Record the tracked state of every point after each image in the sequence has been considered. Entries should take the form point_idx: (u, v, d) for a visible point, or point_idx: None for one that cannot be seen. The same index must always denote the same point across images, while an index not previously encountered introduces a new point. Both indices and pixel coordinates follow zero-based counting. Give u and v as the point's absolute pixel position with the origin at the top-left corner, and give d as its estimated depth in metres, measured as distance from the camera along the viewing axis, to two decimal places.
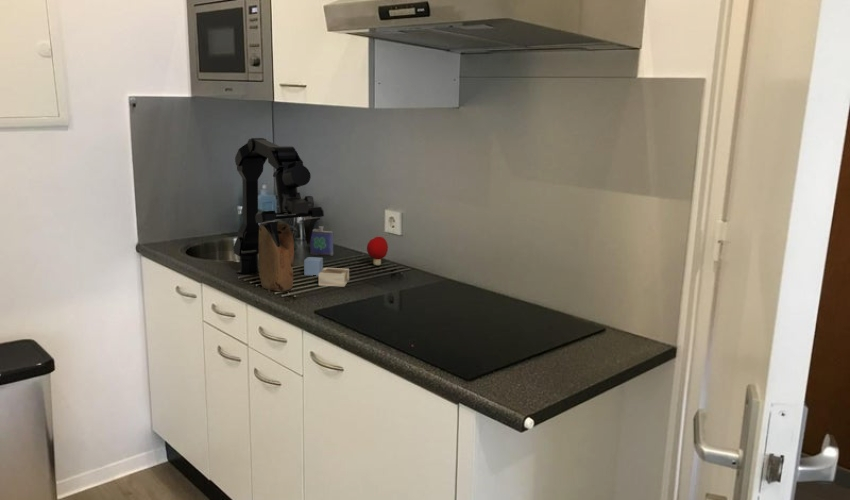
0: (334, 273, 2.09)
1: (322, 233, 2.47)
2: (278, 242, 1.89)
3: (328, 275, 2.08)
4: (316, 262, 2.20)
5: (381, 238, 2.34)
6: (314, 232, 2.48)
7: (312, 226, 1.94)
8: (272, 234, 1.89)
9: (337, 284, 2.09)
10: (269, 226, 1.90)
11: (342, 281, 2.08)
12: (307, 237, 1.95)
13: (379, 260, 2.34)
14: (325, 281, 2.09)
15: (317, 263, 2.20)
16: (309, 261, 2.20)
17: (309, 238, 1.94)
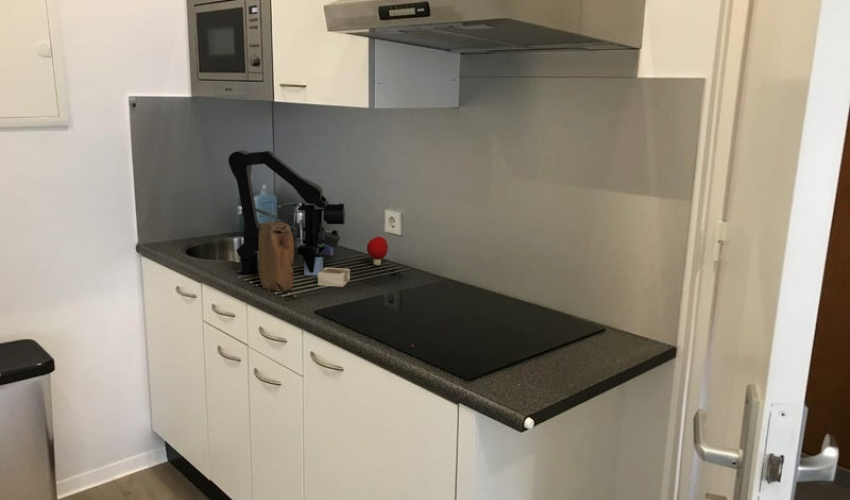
0: (333, 273, 2.09)
1: None
2: (313, 269, 2.20)
3: (327, 275, 2.08)
4: (316, 262, 2.20)
5: (381, 238, 2.34)
6: None
7: (320, 253, 2.26)
8: (309, 262, 2.18)
9: (336, 284, 2.08)
10: (307, 255, 2.18)
11: (341, 281, 2.08)
12: None
13: (379, 260, 2.34)
14: (324, 281, 2.09)
15: (317, 263, 2.20)
16: None
17: None
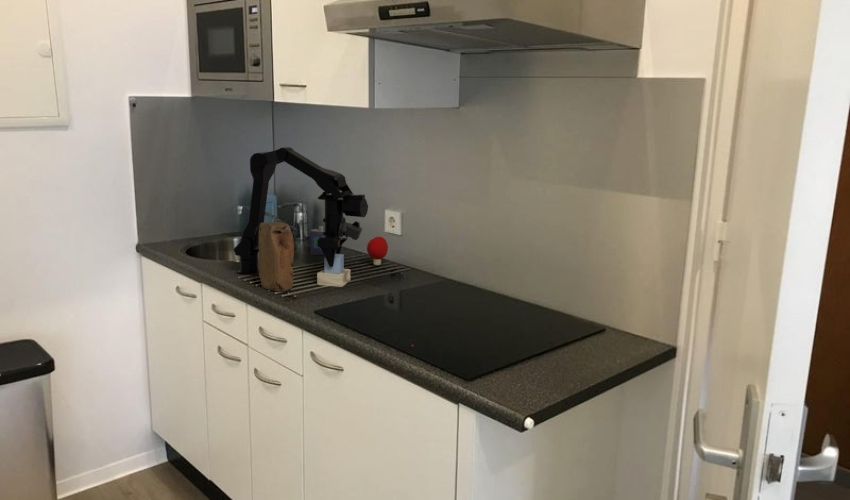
0: (333, 273, 2.09)
1: (322, 233, 2.47)
2: (333, 263, 2.07)
3: (326, 275, 2.08)
4: (337, 259, 2.08)
5: (381, 238, 2.34)
6: (314, 232, 2.48)
7: (341, 246, 2.15)
8: (329, 256, 2.06)
9: (335, 284, 2.08)
10: (326, 248, 2.05)
11: (340, 281, 2.08)
12: None
13: (379, 260, 2.34)
14: (324, 281, 2.09)
15: (338, 260, 2.09)
16: None
17: None
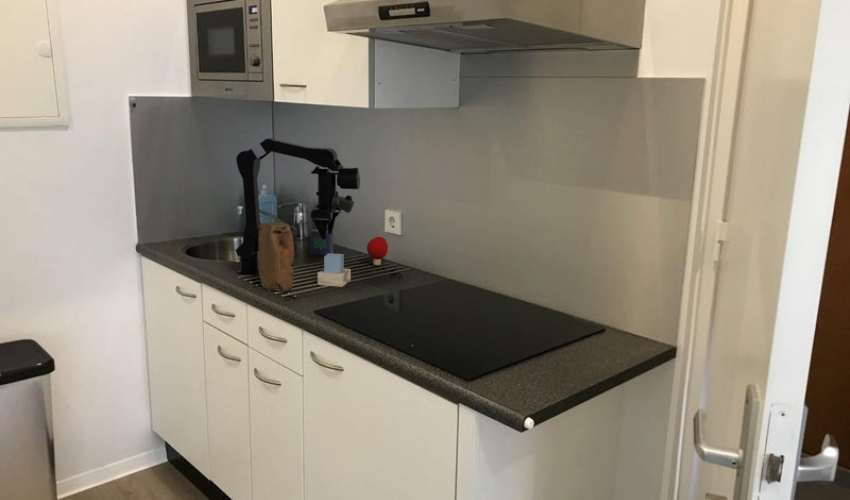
0: (333, 273, 2.09)
1: None
2: None
3: (327, 275, 2.09)
4: (337, 259, 2.08)
5: (381, 238, 2.34)
6: (314, 232, 2.48)
7: None
8: (321, 228, 2.12)
9: (335, 284, 2.09)
10: (319, 221, 2.11)
11: (340, 281, 2.08)
12: (330, 228, 2.22)
13: (379, 260, 2.34)
14: (324, 281, 2.09)
15: (338, 260, 2.08)
16: (329, 258, 2.09)
17: (332, 229, 2.22)
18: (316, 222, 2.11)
